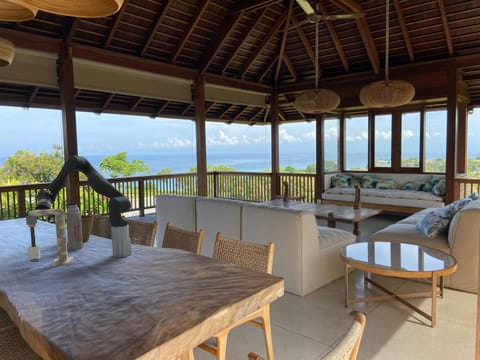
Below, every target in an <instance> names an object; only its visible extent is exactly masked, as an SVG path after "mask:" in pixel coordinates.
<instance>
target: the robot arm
mask: <svg viewBox="0 0 480 360" xmlns="http://www.w3.org/2000/svg"><path fill="white" fill-rule="evenodd" d="M73 171H74V172H80V173H82V174H83V175H84V176H85V177H86V179H87V183H88V186H89V187H90V188H91V189H92V190H93V191H94V192H96V193H97V194H99V195H100V196H103V197H105V198H108V199H109V200H108V203H107V209H108V218H109V219H108V220H109V222H110V227H111V228H110V229H111V230H110V231H111V244H112V245H111V247H112V248H111V249H112V257H113V258H126V257H129V256H130V255H132V242H131V241H132V240H131V238H130V231H129V230H130V227H129V220H128V219H127V218H123V217H122V214H123V213H127V212H130V210H131V208H132V203H131V201H130V199H129V198H128V196H127V195H125V194H124V193H123V192H121V191H119V190H118V189H117V188H116V187H115V186H114V185H113V184H111V182H109V181H108V180H107V178H106V177H104V176H103V175H102V174H101V173H100V172H99V171H98V170H97V169H96V168H95V167H94V166H93V165H92V163H91V162H90V160H89V159H87V158H86V157H84V156H79V155H74V154H73V155H70V156H69V157H68V158H67V159H66V160H65V162H64V164H63V166H62V167H61V169H60V171H59V173H58V174H57V175H56V176H55V178H54V179H53V180H52V181H51V182H50V184H49V185H48V186H47V189H45V188H44V189H40V190H39V191H38V192H37V194H36V200H37V203H36V205H35V208H34V210H47V209H52V205H53V204H54V203H55V201H56V199H57V197H58V196H59V193H60V192H61V191H62V190H63V188H65V187H66V184H67V181H68V176H69V174H71V172H73ZM28 211H31V210H30V209H28V210H27V211H26V213H25V218H26V217H27V216H28ZM41 217H45V218H47V221H48V222H49V221H50V220H52V218H55V215H42V216H41ZM37 218H39V216H37Z"/></svg>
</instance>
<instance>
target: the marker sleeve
mask: <svg viewBox="0 0 480 360" xmlns="http://www.w3.org/2000/svg"><path fill="white" fill-rule="evenodd" d="M27 256H28V258H27V259H28V260H31V259H38V258H39V259H40V257H41V245H40V244H36V247H32V245H29V246H28V247H27Z"/></svg>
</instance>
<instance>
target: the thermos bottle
mask: <svg viewBox="0 0 480 360" xmlns="http://www.w3.org/2000/svg"><path fill="white" fill-rule="evenodd" d="M67 205H68V206H67V207H68V208H67V209H66V213H65V223H66V238H67V250H68V251H77V250H81V249H83V248H84V245H83V243H84V242H82V226H81V214H82V213H81V211H80V208H79V207H78V202H70V203H68V204H67Z"/></svg>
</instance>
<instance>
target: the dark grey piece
mask: <svg viewBox="0 0 480 360" xmlns="http://www.w3.org/2000/svg"><path fill="white" fill-rule="evenodd" d="M25 221H26V222H25V223H26V225H27V226H28V228H29V232H30V243H31V245H30V246H32V247H36V245H37V243H36V231H35V230H36V229H35V227H36V226H37V224H38V217H37V216H29V217H28V216H27V217H26V216H25ZM39 259H40V257H39V258H38V259H30V262H31V263H37V262H39Z"/></svg>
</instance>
